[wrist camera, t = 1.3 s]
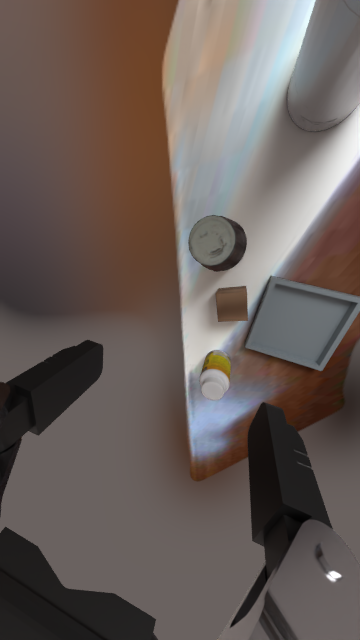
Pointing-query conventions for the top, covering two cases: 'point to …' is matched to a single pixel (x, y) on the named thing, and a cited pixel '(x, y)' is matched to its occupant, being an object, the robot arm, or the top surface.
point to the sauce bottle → (217, 242)
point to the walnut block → (232, 304)
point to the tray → (301, 322)
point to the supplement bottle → (215, 375)
